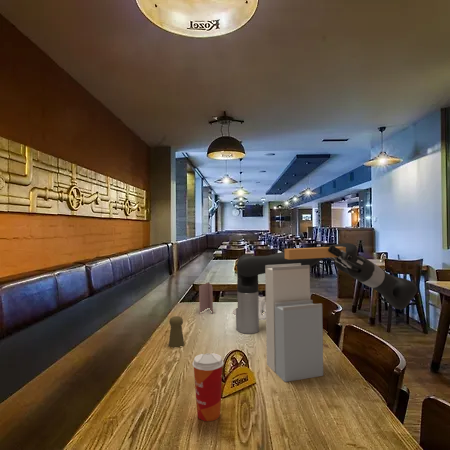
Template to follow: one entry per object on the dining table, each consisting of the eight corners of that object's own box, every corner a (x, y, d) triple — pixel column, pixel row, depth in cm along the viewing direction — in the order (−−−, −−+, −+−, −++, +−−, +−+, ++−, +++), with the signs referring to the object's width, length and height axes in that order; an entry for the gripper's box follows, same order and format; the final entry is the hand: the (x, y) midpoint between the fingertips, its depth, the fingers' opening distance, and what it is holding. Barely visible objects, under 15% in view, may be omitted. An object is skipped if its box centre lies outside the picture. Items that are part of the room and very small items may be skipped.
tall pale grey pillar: (301, 359, 115) (300, 263, 115) (311, 366, 110) (309, 265, 109) (266, 364, 112) (265, 265, 111) (274, 372, 106) (273, 267, 106)
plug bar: (340, 255, 110) (339, 246, 110) (345, 256, 107) (345, 247, 107) (284, 258, 104) (284, 248, 104) (289, 259, 101) (289, 249, 101)
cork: (181, 348, 127) (180, 319, 127) (166, 347, 129) (165, 318, 129) (186, 342, 133) (185, 315, 133) (171, 342, 134) (171, 314, 134)
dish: (264, 323, 158) (264, 299, 158) (223, 315, 174) (222, 293, 174) (289, 312, 178) (288, 291, 178) (249, 305, 193) (249, 286, 193)
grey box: (312, 367, 109) (311, 299, 109) (323, 375, 103) (322, 303, 103) (275, 373, 105) (274, 302, 105) (284, 382, 99) (283, 307, 99)
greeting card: (207, 309, 185) (207, 282, 185) (219, 310, 182) (219, 282, 182) (198, 314, 175) (197, 285, 175) (211, 315, 172) (210, 286, 172)
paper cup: (193, 407, 86) (192, 352, 86) (223, 405, 87) (222, 351, 87) (192, 425, 78) (192, 365, 78) (225, 423, 79) (224, 363, 79)
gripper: (356, 259, 118) (319, 236, 114) (386, 264, 105) (345, 237, 101) (347, 279, 117) (309, 256, 113) (376, 285, 104) (334, 260, 99)
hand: (326, 247), depth 107 cm, fingers closed on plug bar, 3 cm apart
